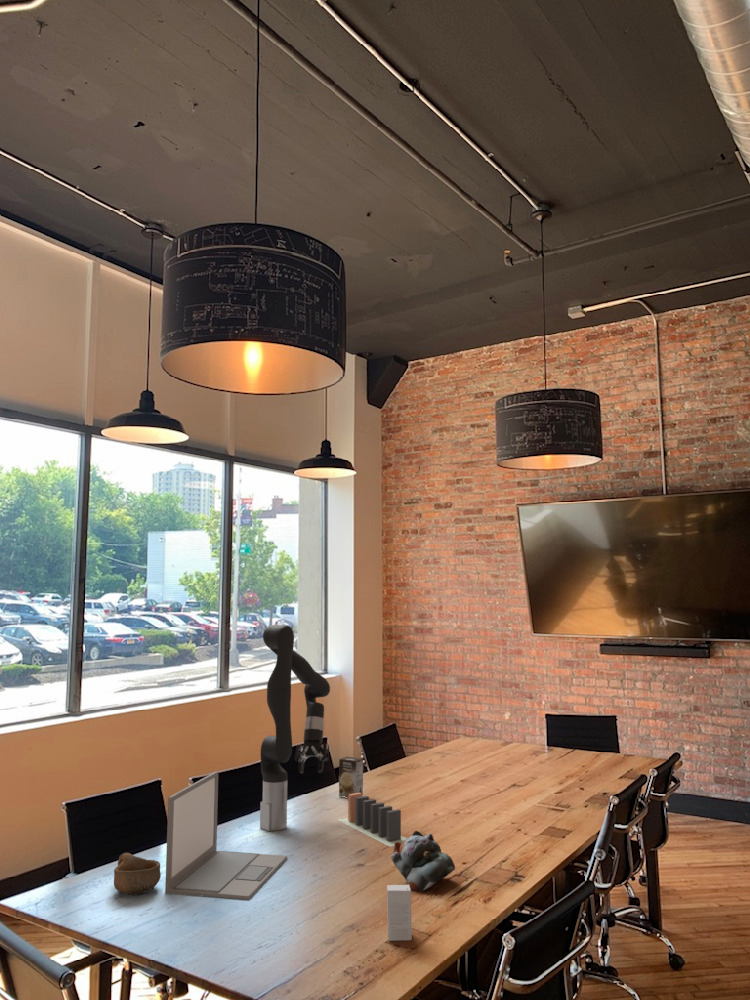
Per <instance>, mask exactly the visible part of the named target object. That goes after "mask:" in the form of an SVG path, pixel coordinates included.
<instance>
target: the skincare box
mask: <svg viewBox="0 0 750 1000" xmlns="http://www.w3.org/2000/svg"><path fill="white" fill-rule="evenodd" d="M386 899H387V900H386V905H387V907H386V908H387V909H386V910H387V912H386V914H387V938H388V939H387V940H388V941H389V942H394V941H395V942H397V941H398V942H399V941H412V939H413V935H412V930H413V929H412V889H411V888H410V885H408V884H387V885H386Z"/></svg>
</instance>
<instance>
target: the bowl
mask: <svg viewBox="0 0 750 1000" xmlns="http://www.w3.org/2000/svg"><path fill="white" fill-rule="evenodd" d="M113 874H114V875H113V886H114V888H115V889H116V890H117V891H119V892H121V893H123V894H127V896H128V895H129V896H130V895H132V896H134V895H138V894H144V893H146V892H149V891H150V890H152V889H154V888H155V887H156V886H157V885H158V883H159V881H160V879H161V862H160V861H158V860H156V859H146V858H143V857H140V856H136V855H133V854H132V853H129V852H123V853H122V854H121V855H119V858H118V861H117V866H116V867H115V868H114V869H113Z"/></svg>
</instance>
